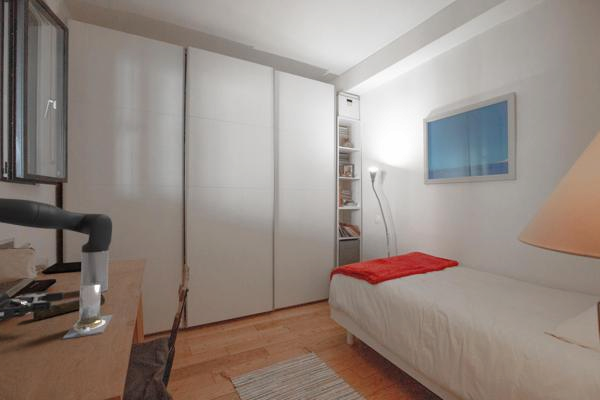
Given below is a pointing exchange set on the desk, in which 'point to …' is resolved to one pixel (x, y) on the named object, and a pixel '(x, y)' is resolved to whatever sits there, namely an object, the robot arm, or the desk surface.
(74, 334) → the board
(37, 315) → the hand tool
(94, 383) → the desk surface
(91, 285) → the clear glass cylinder
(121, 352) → the desk surface
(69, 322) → the desk surface
